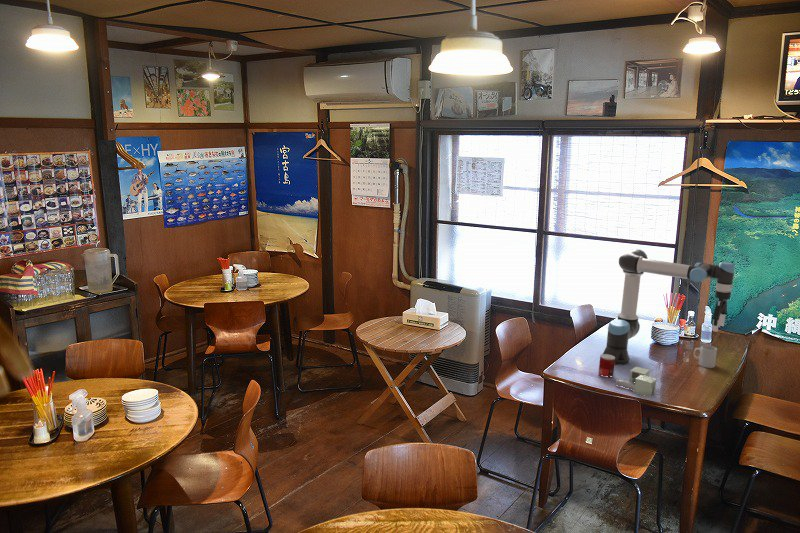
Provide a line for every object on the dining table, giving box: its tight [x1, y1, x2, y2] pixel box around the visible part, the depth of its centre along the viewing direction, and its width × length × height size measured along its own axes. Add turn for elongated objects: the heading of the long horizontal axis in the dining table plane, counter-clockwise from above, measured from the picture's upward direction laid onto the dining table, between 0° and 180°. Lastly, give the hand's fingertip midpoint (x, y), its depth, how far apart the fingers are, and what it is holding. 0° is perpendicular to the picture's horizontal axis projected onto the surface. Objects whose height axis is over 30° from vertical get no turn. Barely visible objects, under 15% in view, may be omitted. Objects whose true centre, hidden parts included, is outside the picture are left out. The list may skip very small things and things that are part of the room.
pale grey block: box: [615, 375, 657, 398], centre depth 324 cm, size 18×7×8 cm, turn 50°
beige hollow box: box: [628, 366, 650, 383], centre depth 332 cm, size 9×7×8 cm
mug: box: [693, 344, 718, 369], centre depth 364 cm, size 12×8×11 cm
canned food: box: [598, 353, 616, 377], centre depth 343 cm, size 8×8×11 cm
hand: (717, 328), depth 341 cm, fingers open, 13 cm apart
